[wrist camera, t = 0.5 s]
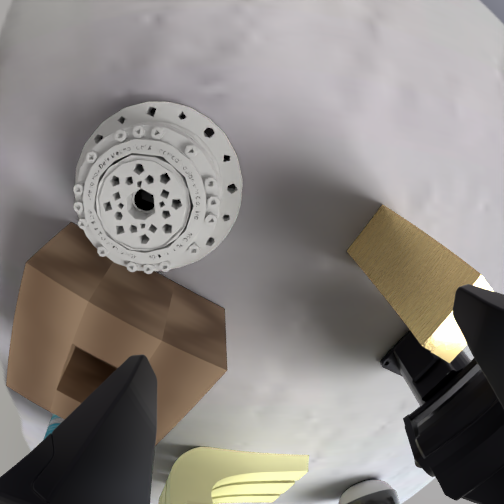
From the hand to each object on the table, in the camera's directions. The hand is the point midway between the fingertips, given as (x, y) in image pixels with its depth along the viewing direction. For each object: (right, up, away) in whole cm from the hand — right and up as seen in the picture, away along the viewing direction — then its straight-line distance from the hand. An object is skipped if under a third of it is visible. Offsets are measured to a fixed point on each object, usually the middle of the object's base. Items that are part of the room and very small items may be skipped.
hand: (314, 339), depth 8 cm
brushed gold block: (+7, +3, +13) cm, 15 cm away
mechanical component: (-7, +6, +10) cm, 14 cm away
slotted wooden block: (-12, -3, +14) cm, 18 cm away
